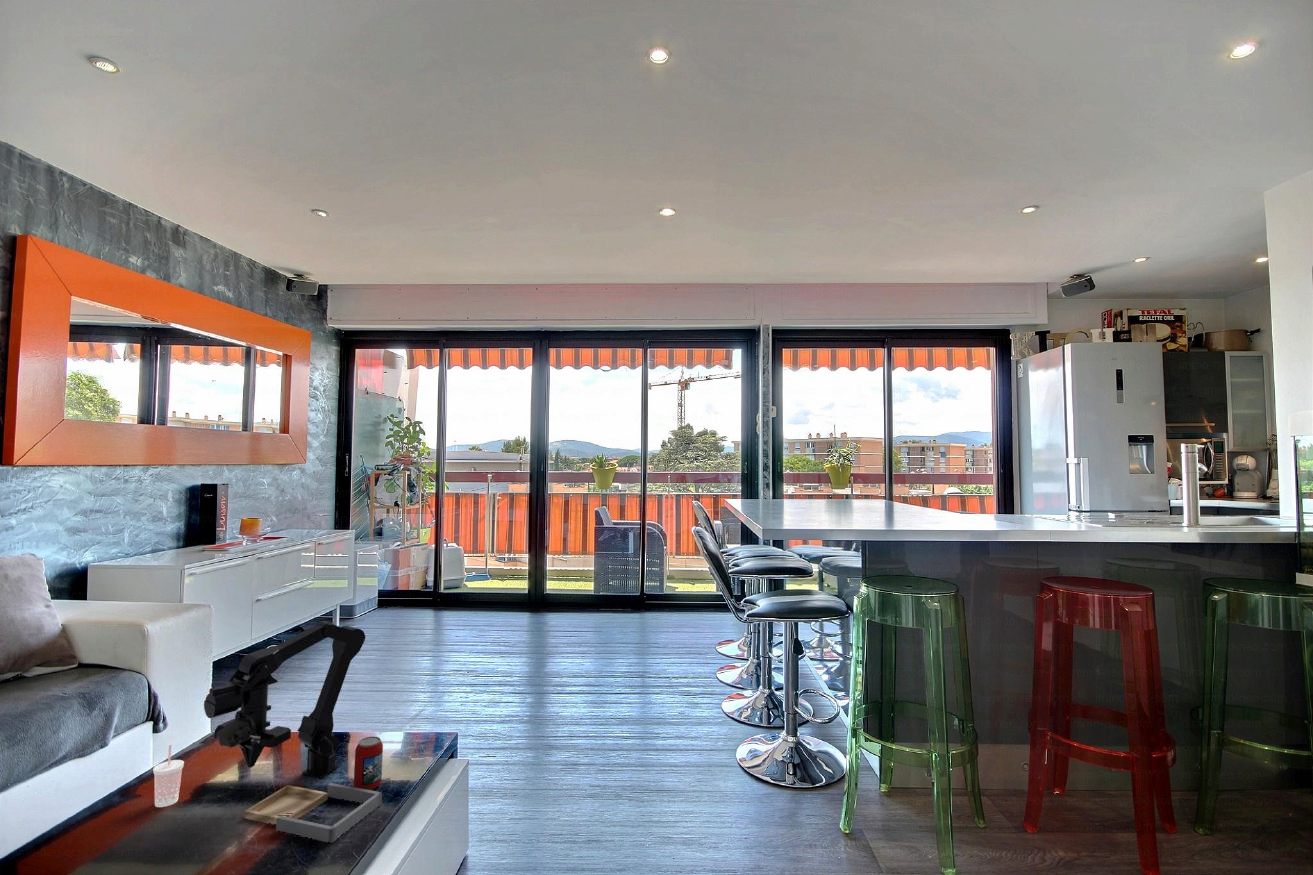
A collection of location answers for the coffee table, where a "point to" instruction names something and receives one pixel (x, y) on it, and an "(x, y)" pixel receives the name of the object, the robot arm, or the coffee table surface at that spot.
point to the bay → (333, 832)
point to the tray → (286, 804)
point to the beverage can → (368, 763)
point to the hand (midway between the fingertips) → (251, 766)
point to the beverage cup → (167, 781)
